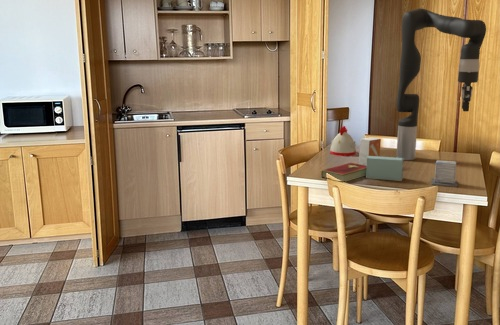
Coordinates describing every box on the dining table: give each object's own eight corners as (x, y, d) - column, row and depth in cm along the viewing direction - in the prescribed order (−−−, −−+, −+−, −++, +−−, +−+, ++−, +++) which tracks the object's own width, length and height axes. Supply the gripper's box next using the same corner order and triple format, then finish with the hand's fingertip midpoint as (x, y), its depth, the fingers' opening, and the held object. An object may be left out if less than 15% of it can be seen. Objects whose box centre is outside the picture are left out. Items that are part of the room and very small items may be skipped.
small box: (368, 167, 231) (369, 140, 228) (358, 164, 236) (359, 138, 233) (379, 164, 235) (381, 138, 232) (370, 162, 240) (371, 136, 237)
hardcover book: (321, 178, 213) (321, 169, 212) (349, 170, 226) (350, 161, 225) (343, 183, 204) (343, 174, 203) (371, 174, 217) (371, 165, 217)
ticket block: (367, 175, 215) (368, 155, 213) (402, 178, 210) (403, 157, 208) (366, 178, 210) (366, 157, 208) (401, 180, 205) (403, 160, 203)
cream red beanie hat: (325, 154, 261) (326, 126, 257) (336, 149, 272) (337, 123, 268) (349, 157, 253) (350, 129, 249) (359, 152, 264) (360, 125, 260)
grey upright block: (454, 181, 201) (456, 161, 199) (454, 184, 197) (456, 163, 195) (434, 179, 204) (436, 160, 202) (434, 182, 200) (435, 162, 198)
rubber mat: (431, 179, 206) (431, 178, 206) (456, 181, 203) (456, 180, 203) (431, 185, 198) (431, 183, 198) (457, 187, 195) (457, 185, 195)
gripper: (458, 69, 203) (454, 107, 207) (459, 71, 190) (455, 111, 194) (477, 69, 200) (473, 108, 204) (480, 71, 188) (476, 112, 191)
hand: (465, 110), depth 199 cm, fingers open, 8 cm apart
